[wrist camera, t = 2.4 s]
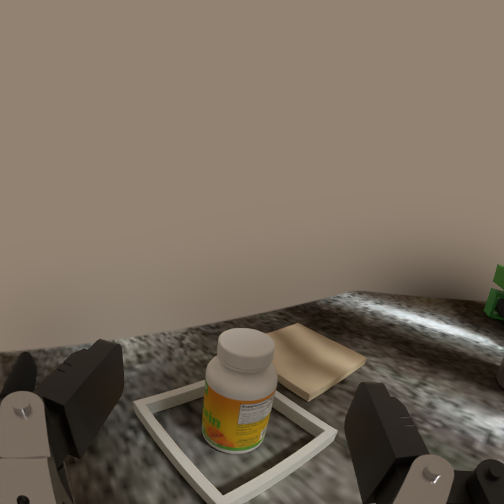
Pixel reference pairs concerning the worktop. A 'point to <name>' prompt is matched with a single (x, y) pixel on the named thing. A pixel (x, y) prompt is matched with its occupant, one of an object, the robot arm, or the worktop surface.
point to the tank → (496, 296)
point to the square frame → (236, 498)
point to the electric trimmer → (21, 376)
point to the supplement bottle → (239, 391)
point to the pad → (310, 361)
